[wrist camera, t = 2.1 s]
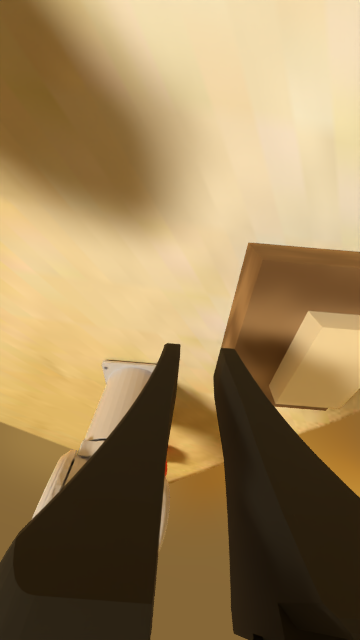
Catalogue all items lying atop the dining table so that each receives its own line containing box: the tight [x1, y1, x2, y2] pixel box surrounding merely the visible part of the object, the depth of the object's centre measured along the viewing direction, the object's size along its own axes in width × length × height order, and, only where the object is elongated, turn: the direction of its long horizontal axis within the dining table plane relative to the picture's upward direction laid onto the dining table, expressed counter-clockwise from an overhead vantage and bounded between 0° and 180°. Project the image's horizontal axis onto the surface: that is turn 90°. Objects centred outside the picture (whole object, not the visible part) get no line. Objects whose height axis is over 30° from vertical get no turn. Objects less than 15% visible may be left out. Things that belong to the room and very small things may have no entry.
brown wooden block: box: [221, 243, 360, 411], centre depth 19 cm, size 16×12×4 cm
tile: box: [269, 311, 360, 409], centre depth 17 cm, size 9×6×2 cm, turn 176°
